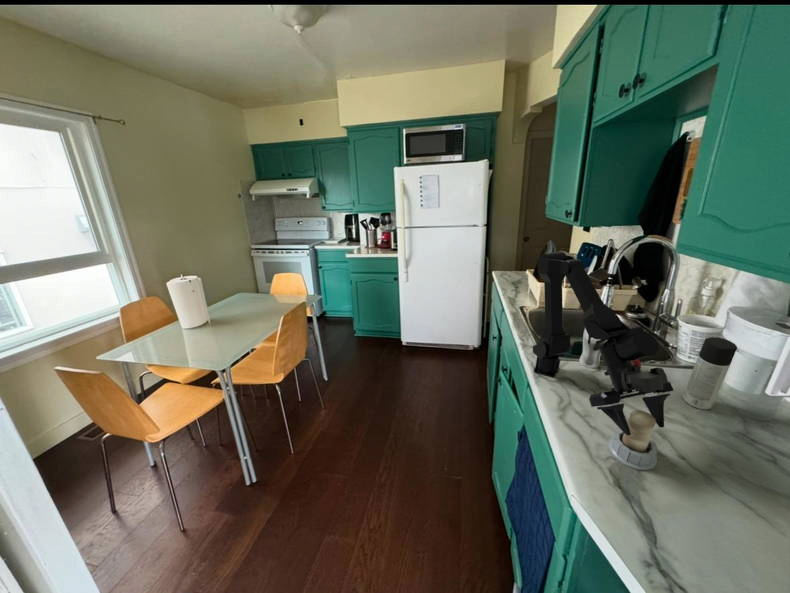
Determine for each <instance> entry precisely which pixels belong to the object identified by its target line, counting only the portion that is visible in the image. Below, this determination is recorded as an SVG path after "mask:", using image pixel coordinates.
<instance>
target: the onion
mask: <svg viewBox="0 0 790 593" xmlns="http://www.w3.org/2000/svg"><path fill="white" fill-rule="evenodd" d="M631 362H632V363H633V365H638V366H639V367H640V369H641V370H642V363H641V361H640V359H637V360H633V361H631Z"/></svg>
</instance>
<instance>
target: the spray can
mask: <svg viewBox="0 0 790 593" xmlns="http://www.w3.org/2000/svg"><path fill="white" fill-rule="evenodd" d="M737 349H738V346H737V345H736V343H734V342H732V341H730V340H728V339H726V338H723V337H718V336H716V337H713V336H711V337H706V338H704V340H703V343H702V346H701V348H700V350H699V353H698V356H697V358H696V360H695V363H694V366H693V369H692V371H691V373H690V374H691V375H690V376H689V379H688V381H687V385H686V387H685V390H684V392H683V395H682V398H683V401H684V402H685V403H686V404H688V405H689V406H691V407H693V408H696V409H699V410H709V409H711V408H712V407H713V405H714V403H715V402H716V399H717V396H718V394H719V392H720V390H721V387H722V385H723V382H724V381H725V379H726V375H727V373H728V372H729V369H730V367H731V364H732V361H733V359H734V356H735V354H736V352H737Z"/></svg>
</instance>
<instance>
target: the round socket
mask: <svg viewBox="0 0 790 593" xmlns="http://www.w3.org/2000/svg"><path fill="white" fill-rule="evenodd" d="M623 435H624V432H623V431H622V430H621V429H620V428H618V429H617V430H616V431H615V432H614V434H613V436H612V437H611V438H610V439H609V440H608V445H607V446H608V450H609V452H610V454H611V455H612V457H614V459H616V461H618V462H619V463H621V464H622V465H624V466H627V467H629V468H631V469H634V470H637V471H650V470H652V469H654V468H655V467H656V466H657V462H658V457H657V454H658V446H657V444H656V443H655V441H654V440H653V439H652V437H651V438H650V441H649V443H648V446H647V449H646V452H645V453H638V452H635V451H632V450H630V449H629V448H627V447H626V446H624V445H623V444H622V442H621V441H622V438H623Z"/></svg>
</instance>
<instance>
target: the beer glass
mask: <svg viewBox="0 0 790 593" xmlns="http://www.w3.org/2000/svg"><path fill="white" fill-rule="evenodd" d="M598 340H600V339H594V338H591V337H590V336H589V335H588V333H587V331H586V328H585V327H584V330H583V335H582V353H581V355H580V357H579V363H580V364H581V365H582V366H584V367H585V368H589V369H591V368H592V369H596V368H598V367H600V363H601V360H600V358H601V356H602V355H601V353H600V350H597V351H594V350H593V347H594V346H595V344H596V341H598ZM606 341H607V340H606Z"/></svg>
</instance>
